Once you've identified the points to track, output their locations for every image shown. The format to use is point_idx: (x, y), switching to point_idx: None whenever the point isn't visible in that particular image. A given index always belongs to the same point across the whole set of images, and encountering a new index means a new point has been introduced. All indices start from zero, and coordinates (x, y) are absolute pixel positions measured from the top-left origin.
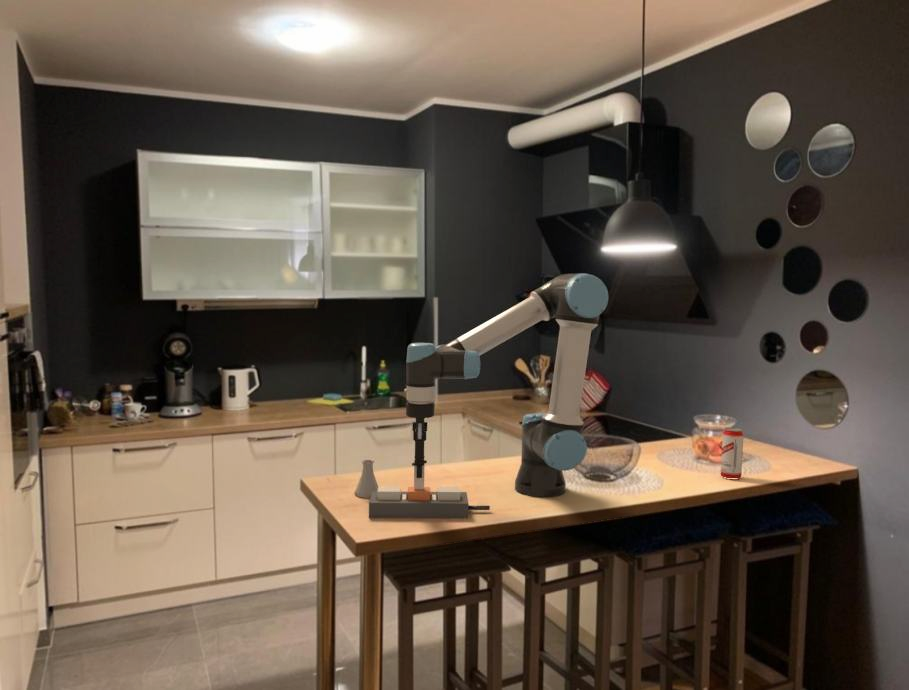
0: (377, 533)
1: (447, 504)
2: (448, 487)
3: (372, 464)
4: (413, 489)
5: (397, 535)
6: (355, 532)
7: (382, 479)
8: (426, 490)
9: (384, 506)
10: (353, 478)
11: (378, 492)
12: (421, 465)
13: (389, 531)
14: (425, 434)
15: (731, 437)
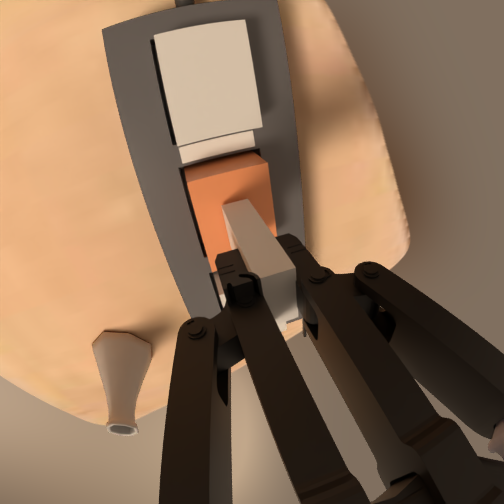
0: (380, 237)
1: (287, 77)
2: (171, 89)
3: (115, 415)
4: None
5: (393, 195)
6: None
7: (15, 352)
8: (249, 185)
9: None
10: (50, 390)
11: (285, 325)
12: (340, 277)
13: (373, 218)
14: (475, 465)
15: None
